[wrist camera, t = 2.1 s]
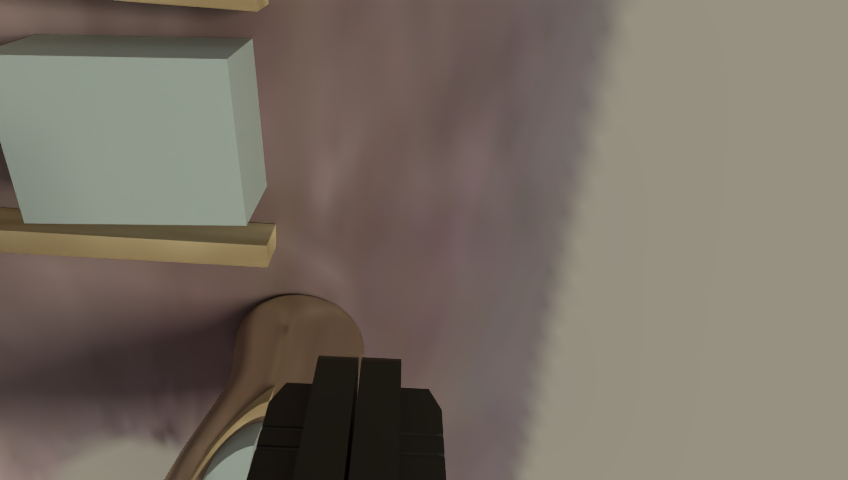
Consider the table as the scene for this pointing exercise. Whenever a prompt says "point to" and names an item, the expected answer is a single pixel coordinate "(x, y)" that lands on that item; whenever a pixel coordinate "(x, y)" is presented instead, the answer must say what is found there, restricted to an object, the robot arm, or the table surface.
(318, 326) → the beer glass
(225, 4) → the bay
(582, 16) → the table surface
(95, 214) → the pale teal block
